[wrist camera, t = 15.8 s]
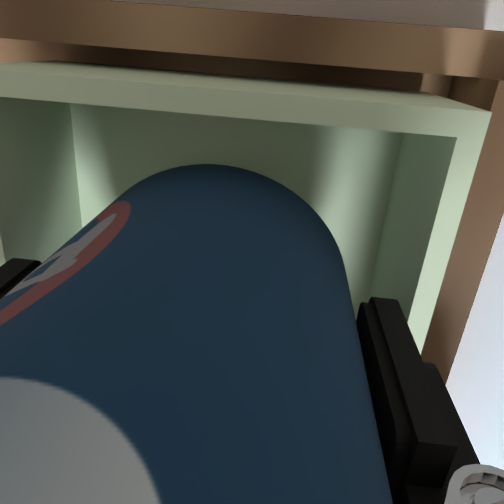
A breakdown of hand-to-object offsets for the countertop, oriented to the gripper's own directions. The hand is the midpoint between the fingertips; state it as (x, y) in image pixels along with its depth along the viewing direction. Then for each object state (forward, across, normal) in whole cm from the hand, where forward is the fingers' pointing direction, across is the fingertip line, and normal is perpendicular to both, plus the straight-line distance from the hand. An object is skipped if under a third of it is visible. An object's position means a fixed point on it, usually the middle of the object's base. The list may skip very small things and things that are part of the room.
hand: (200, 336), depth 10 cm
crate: (+5, 0, 0) cm, 5 cm away
